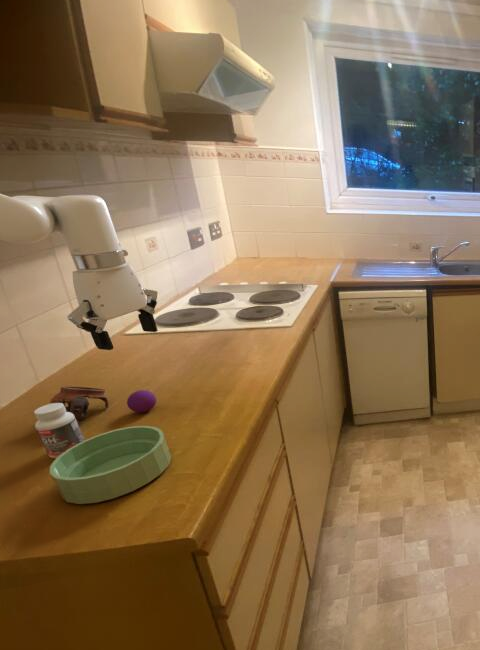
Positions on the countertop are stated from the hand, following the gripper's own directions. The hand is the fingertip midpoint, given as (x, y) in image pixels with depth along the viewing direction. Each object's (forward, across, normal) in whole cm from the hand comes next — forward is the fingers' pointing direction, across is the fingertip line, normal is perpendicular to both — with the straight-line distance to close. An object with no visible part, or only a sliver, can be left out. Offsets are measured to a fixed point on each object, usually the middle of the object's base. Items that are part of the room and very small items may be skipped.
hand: (129, 339), depth 92 cm
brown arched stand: (+18, +6, -13) cm, 22 cm away
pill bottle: (+18, +16, -3) cm, 24 cm away
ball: (+15, +1, -2) cm, 15 cm away
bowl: (+17, +20, +14) cm, 30 cm away
